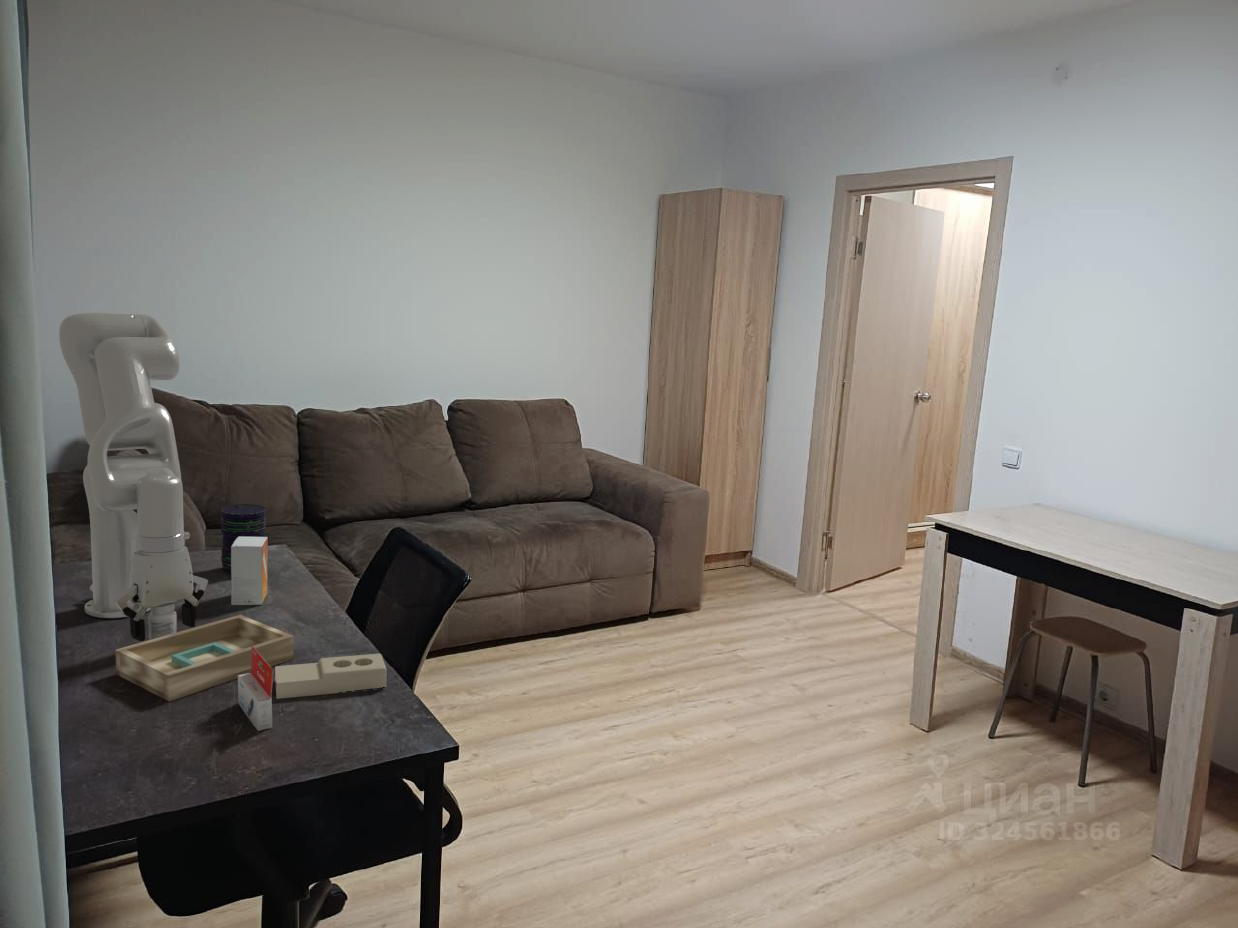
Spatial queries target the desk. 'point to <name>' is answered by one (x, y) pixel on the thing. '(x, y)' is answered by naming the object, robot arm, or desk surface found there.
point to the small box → (249, 570)
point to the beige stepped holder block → (331, 676)
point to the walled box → (202, 656)
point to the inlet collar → (199, 653)
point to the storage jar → (240, 528)
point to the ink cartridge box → (257, 692)
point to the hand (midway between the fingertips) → (164, 632)
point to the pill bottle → (162, 621)
